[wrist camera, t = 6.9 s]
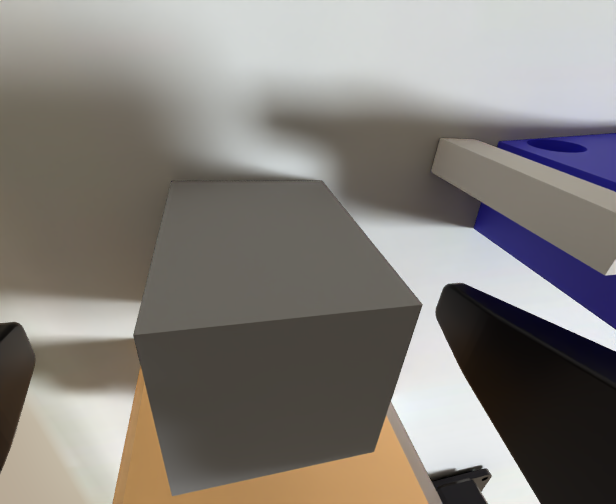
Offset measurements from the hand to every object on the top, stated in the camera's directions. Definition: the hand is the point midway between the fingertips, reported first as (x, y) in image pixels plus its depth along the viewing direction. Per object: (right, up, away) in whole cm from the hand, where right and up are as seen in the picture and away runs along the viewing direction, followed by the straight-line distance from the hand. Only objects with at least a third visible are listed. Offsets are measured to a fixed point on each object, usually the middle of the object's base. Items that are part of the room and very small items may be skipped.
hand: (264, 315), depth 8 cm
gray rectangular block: (-1, +2, +3) cm, 3 cm away
